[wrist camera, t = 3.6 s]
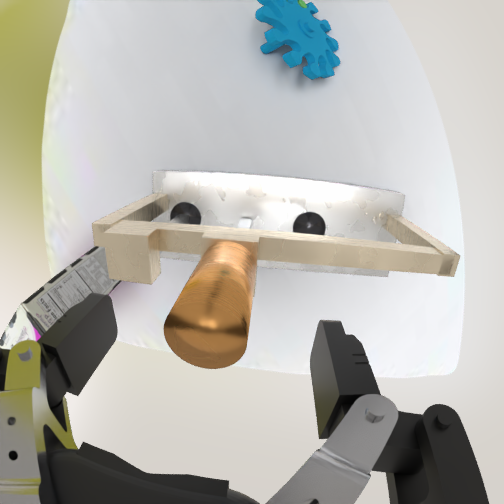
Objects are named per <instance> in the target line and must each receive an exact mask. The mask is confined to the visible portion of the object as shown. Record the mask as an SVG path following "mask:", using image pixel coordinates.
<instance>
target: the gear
mask: <svg viewBox="0 0 504 504" xmlns="http://www.w3.org/2000/svg"><path fill="white" fill-rule="evenodd" d="M258 2H259V3H261V4H262V5H264V6H263V7H261V8H259V9H258V10H257V11H256V19H257V20H259V21H261V22H265V23H268V24H270V25H272V26H273V27H274V28H272V29H270V30H268V31H267V32H265V33H264V34H265V38H266V40H267V43H265V44H264V45H262V46H261V47H260V49H261V51H262V52H263V53H265V54H267V53H269V52H271V51H273V50H275V49H277V48H279V47H281V46H283V45H285V44H286V45H289V46H290V47H291V48H292V49H293V50H292V51H289V52H287V53H285V54H283V56H282V58H283V59H284V61H285V62H286V63H287V65H288V66H289V67H290V68H292V67H295V66H297V65H300V64H301V63H302V57H303V56H304V57H305V58H306V60H307V62H308V65H307V66H305V67H303V74H304V75H305V76H307V77H308V78H310V79H312V80H313V79H315V78H318V77H322V78H327V77H330V76H333V75H335V74H334V70H333V69H332V68H333V67H336V66H339V64H340V60H339V58H338V57H337V56H336V55H335V54H334V53H333V51H336V50H338V42H337V41H336V40H335V39H333V38H331V37H329V36H328V35H327V34H326V33H325V32H328V31H330V30H331V27H330V25H329V23H328V21H327V20H322V21H320V20H318V19H316V18H314V17H313V16H312V15H313V14H315V13H317V12H318V10H317V8H316V7H315V6H314V4H313V3H312V2H310V3H308V4H305V2H304V1H302V0H258ZM318 63H319V65H318Z"/></svg>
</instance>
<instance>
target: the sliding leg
mask: <svg viewBox="0 0 504 504" xmlns="http://www.w3.org/2000/svg"><path fill="white" fill-rule="evenodd" d="M251 224H252V219H246V218H241V220H240V222H239V224H238V227H237V228H247V229H251ZM258 248H259V235H253V234H241V233H228V232H216V231H205V233H204V234H203V235H202V237H201V260H200V261H199V263H198V265H197V266H196V268H195V270H194V271H193V273H192V275H191V276H190V278H189V280H188V282H187V283H186V285H185V287H184V288H183V290H182V292H181V294H180V295H179V297H178V299H177V301H176V302H175V304H174V306H173V308H172V309H171V311H170V313H169V315H168V316H167V318H166V320H165V324H164V335H165V339H166V341H167V343H168V345H169V347H170V348H171V349H172V351H173V352H174V353H175V354H176V355H177V356H179V357H180V358H181V359H183V360H184V361H186V362H188V363H190V364H192V365H194V366H198V367H202V368H208V369H218V368H224V367H227V366H230V365H232V364H234V363H236V362H237V361H238V360H239V359H240V358H241V357H242V356H243V354H244V353H245V350H246V347H247V340H248V332H249V324H250V317H251V309H252V301H253V297H254V294H255V285H256V273H257V260H258Z"/></svg>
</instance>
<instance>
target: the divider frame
mask: <svg viewBox="0 0 504 504" xmlns="http://www.w3.org/2000/svg"><path fill="white" fill-rule="evenodd" d="M404 199H405V195H404V194H402V193H399V192H394V191H388V190H382V189H377V188H370V187H364V186H358V185H351V184H344V183H337V182H329V181H321V180H313V179H304V178H294V177H284V176H273V175H261V174H248V173H231V172H211V171H175V170H158V171H154V172H153V194H151V195H149V196H147V197H144V198H142V199H140V200H138V201H136V202H134V203H131V204H129V205H127V206H125V207H123V208H121V209H119V210H117V211H115V212H113V213H111V214H109V215H107V216H105V217H103V218H101V219H99V220H97V221H95V222H93V223H92V229H93V238H94V246H99V247H105V252H106V260H107V267H108V274H109V279H115V280H122V281H129V282H136V283H143V284H150V285H152V284H153V282H154V281H155V280H156V279H157V277H158V276H159V275H160V274H161V267H160V258H168V259H178V260H188V261H200V260H201V237H202V235H203V234H204V233H205V231H216V232H228V233H241V234H253V235H259V248H258V260H257V267H265V268H276V269H288V270H301V271H313V272H326V273H339V274H352V275H366V276H380V277H388V273H389V271H401V272H414V273H428V274H437V275H438V276H451V277H454V275H455V272H456V269H457V265H458V262H459V259H460V255H459V254H457V253H456V252H454V251H453V250H452V249H450V248H449V247H447V246H446V245H445V244H443V243H442V242H440V241H439V240H437V239H436V238H434V237H433V236H431V235H430V234H428V233H427V232H425V231H424V230H422V229H421V228H419V227H418V226H416V225H415V224H413V223H412V222H410V221H408V220H407V219H405V218H404V217H402V211H403V205H404ZM241 218H246V219H252V224H251V229H247V228H237V227H238V224H239V222H240V220H241ZM152 220H153V222H150V221H152ZM396 240H399V241H400V242H401V243H402V244H399V243H396Z"/></svg>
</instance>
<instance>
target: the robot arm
mask: <svg viewBox="0 0 504 504" xmlns="http://www.w3.org/2000/svg"><path fill="white" fill-rule="evenodd" d="M116 338H117V324H116V319H115V314H114V310H113V305H112V300H111V298H110V296H109V295H104V294H99V293H94V292H92V293H90V294H89V295H88V296H87V297H86V298H85V299H84V300H83V301H82V302H80V303H78V304H76V305H74V306H72V307H71V308H70V309H68V310H67V311H66V312H65V313H64V314H63V316H61V317H60V318H59V319H58V320H57V322H55V323H54V324H53V325H52V326H51V327H50V328H49V329H48V330H47V331H46V332H45V333H44V334H43V335H42V336H41V337H40V338H39V339H38V340H37V342H36V341H34V340H24V341H21V342H19V343H17V344H16V345H14V346H13V347H12V349H11V350H10V349H2V348H0V504H260V503H258V502H257V501H255V500H254V499H252V498H250V497H248V496H246V495H244V494H242V493H240V492H237V491H234V490H231V489H229V481H227V480H219V479H212V478H205V477H200V476H194V475H188V474H185V475H183V474H182V475H181V474H150V473H146V472H143V471H141V470H140V469H138V468H136V467H134V466H133V465H131V464H129V463H128V462H126V461H124V460H123V459H121V458H119V457H118V456H116V455H115V454H113V453H110V452H107V451H105V450H102V449H100V448H97V447H94V446H92V445H90V444H88V443H85V442H83V443H82V445H81V447H80V449H78V448H77V446H76V444H75V442H74V439H73V436H72V430H71V425H70V420H69V414H68V407H67V401H66V398H65V397H64V395H65V394H66V392H69V393H72V394H74V395H77V396H78V395H79V394H80V392H81V391H82V389H83V387H84V386H85V385H86V383H87V381H88V380H89V379H90V377H91V376H92V374H93V373H94V371H95V370H96V368H97V367H98V365H99V364H100V362H101V361H102V359H103V358H104V356H105V355H106V354H107V352H108V351H109V349H110V348H111V346H112V345H113V344H114V342H115V340H116ZM310 370H311V377H312V385H313V392H314V400H315V408H316V416H317V425H318V434H319V439H328V440H327V441H326V442H325V443H324V445H323V446H322V447H321V448H320V449H318V450H316V451H315V452H314V453H313V455H312V456H311V457H310V458H309V459H308V460H307V461H306V462H305V464H304V465H303V466H302V467H301V468H300V469H299V470H298V471H297V473H296V474H295V475H294V476H293V477H292V478H291V479H290V480H289V481H288V482H287V483H286V484H285V485H284V486H283V487H282V488H281V489H280V490H279V491H278V492H277V493H276V494H275V495H274V496H273V497H272V498H271V499H270V500H269V501H268V502H267V503H266V504H354V503H355V501H356V500H357V498H358V497H359V495H360V494H361V492H362V491H363V489H364V488H365V486H366V484H367V483H368V481H369V479H370V477H371V475H370V472H371V470H372V471H380V472H386V477H387V483H388V490H389V498H390V504H489V501H488V498H487V494H486V490H485V487H484V483H483V480H482V477H481V473H480V471H479V467H478V465H477V461H476V458H475V456H474V453H473V450H472V447H471V445H470V442H469V440H468V437H467V434H466V432H465V429H464V427H463V424H462V422H461V420H460V417H459V416H458V414H457V413H456V411H455V410H453V409H452V408H450V407H449V406H446V405H443V404H435V405H432V406H430V407H429V408H428V409H427V410H426V411H425V412H424V414H423V415H421V414H413V413H406V412H401V411H398V410H397V408H396V406H395V404H394V403H393V402H392V401H391V400H389V399H388V398H386V397H384V396H382V395H381V394H380V391H379V389H378V385H377V383H376V380H375V377H374V374H373V372H372V369H371V366H370V364H369V361H368V358H367V356H366V353H365V351H364V348H363V345H362V343H361V342H360V341H359V340H358V339H357V338H356V337H355V336H354V335H346V334H345V331H344V328H343V326H342V323H341V321H332V320H320V321H319V323H318V327H317V331H316V335H315V340H314V344H313V348H312V352H311V358H310Z"/></svg>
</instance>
